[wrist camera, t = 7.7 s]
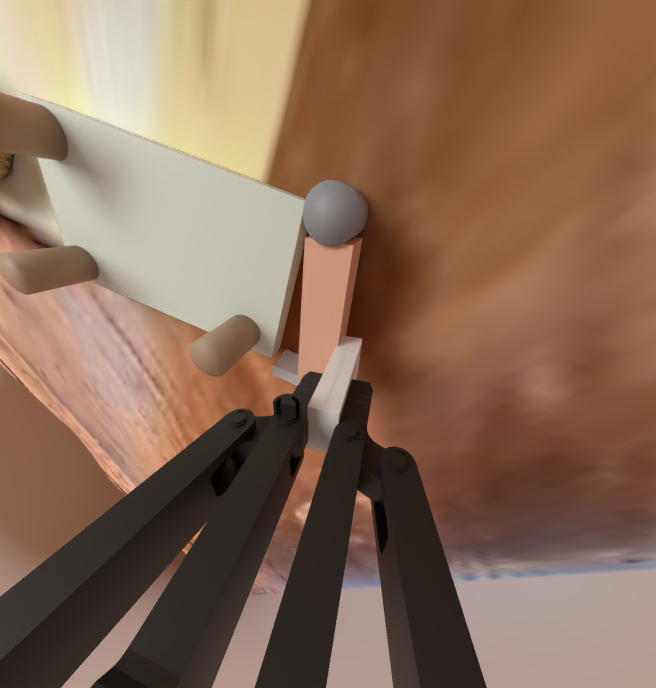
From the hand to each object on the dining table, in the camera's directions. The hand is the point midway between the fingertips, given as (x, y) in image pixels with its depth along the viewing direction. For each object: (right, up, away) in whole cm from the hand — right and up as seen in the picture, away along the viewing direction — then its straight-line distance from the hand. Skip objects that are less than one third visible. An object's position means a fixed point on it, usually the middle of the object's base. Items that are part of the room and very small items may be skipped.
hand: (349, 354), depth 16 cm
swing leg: (-1, +4, 0) cm, 5 cm away
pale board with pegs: (-11, +7, +2) cm, 13 cm away
